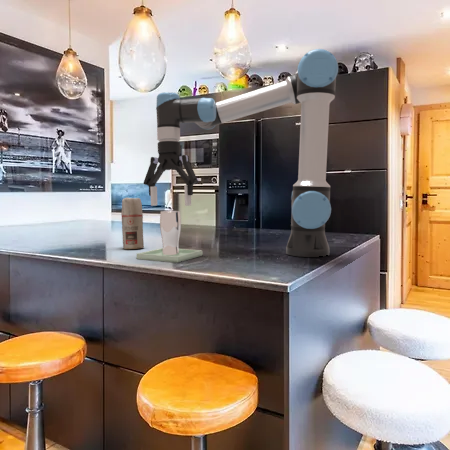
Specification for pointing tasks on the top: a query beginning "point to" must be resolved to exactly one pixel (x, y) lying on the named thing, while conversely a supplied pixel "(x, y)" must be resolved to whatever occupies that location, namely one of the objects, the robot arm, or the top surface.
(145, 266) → the top surface
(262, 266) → the top surface
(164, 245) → the beer glass
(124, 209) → the spray can
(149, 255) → the tray
